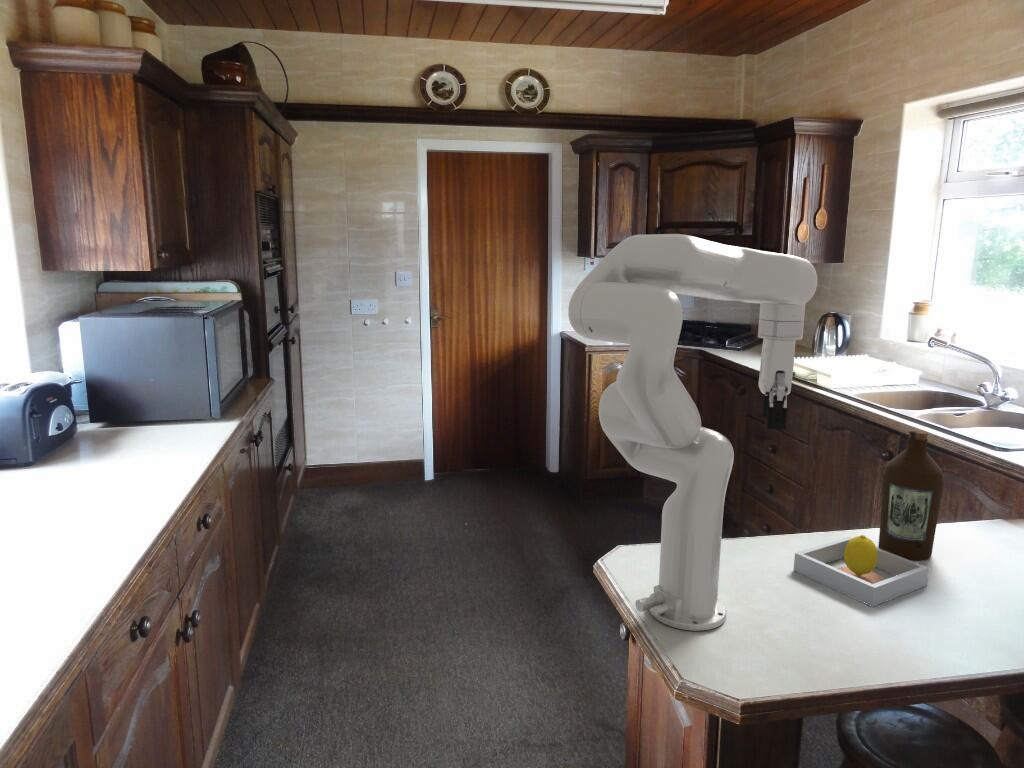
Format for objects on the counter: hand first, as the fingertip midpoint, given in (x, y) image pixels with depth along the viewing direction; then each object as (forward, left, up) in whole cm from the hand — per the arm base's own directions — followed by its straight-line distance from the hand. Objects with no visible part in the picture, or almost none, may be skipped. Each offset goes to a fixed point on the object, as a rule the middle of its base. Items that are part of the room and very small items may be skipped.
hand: (773, 422), depth 129 cm
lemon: (+12, -12, -28) cm, 33 cm away
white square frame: (+12, -12, -28) cm, 33 cm away
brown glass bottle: (+31, -9, -28) cm, 43 cm away
